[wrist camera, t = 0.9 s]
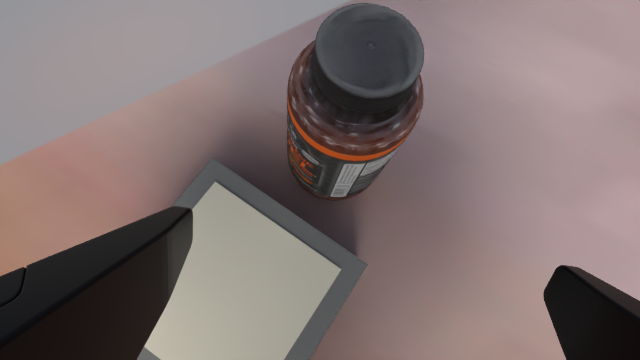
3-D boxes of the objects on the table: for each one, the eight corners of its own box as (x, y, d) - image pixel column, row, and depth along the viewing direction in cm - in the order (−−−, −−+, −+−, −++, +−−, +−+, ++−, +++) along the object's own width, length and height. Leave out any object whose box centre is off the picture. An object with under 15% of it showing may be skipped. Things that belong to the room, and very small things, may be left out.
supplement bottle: (271, 139, 24) (256, 8, 13) (350, 103, 25) (396, -42, 14) (314, 219, 22) (337, 147, 12) (395, 178, 24) (484, 78, 13)
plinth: (253, 434, 19) (247, 460, 16) (104, 318, 20) (71, 321, 17) (357, 268, 22) (368, 263, 19) (222, 175, 23) (212, 156, 20)
